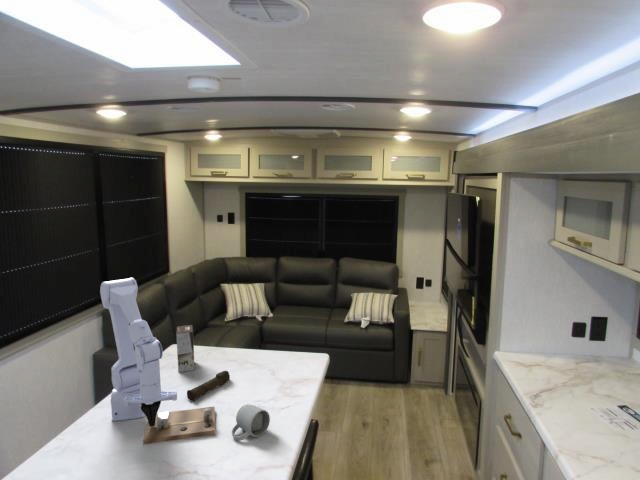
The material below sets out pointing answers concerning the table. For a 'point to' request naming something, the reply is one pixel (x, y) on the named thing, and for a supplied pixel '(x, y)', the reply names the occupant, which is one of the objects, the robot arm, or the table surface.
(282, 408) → the table surface
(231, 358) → the table surface
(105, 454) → the table surface
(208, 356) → the table surface
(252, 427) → the ceramic mug
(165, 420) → the white rectangular block
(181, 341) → the coffee box
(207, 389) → the hand tool
